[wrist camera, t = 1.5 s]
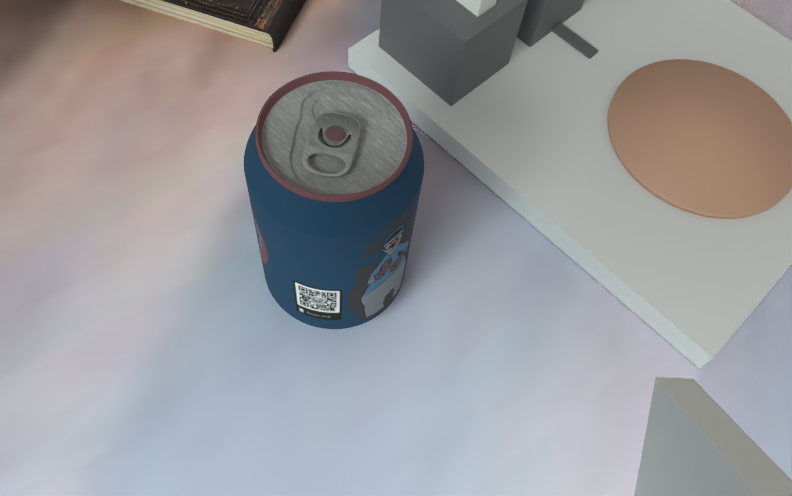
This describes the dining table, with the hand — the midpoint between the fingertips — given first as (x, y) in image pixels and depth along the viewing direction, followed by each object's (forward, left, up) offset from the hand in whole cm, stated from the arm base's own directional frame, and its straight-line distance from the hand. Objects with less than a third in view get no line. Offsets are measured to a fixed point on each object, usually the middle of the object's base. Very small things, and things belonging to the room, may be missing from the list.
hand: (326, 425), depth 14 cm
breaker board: (-6, +29, -18) cm, 35 cm away
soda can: (-9, +8, -19) cm, 22 cm away
